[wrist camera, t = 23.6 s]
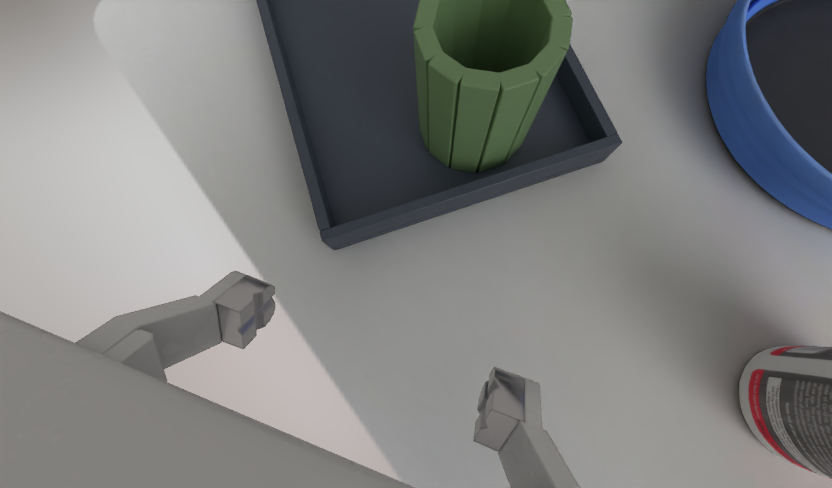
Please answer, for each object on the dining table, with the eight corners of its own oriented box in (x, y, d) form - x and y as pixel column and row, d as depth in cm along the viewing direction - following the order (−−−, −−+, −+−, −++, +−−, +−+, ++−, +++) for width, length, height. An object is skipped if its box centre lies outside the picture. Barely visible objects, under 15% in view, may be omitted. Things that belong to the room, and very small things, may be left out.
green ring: (540, 153, 20) (598, 60, 13) (440, 185, 19) (444, 109, 13) (501, 67, 21) (534, -57, 14) (407, 97, 21) (395, -14, 14)
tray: (603, 161, 20) (623, 142, 18) (333, 250, 19) (322, 242, 17) (478, -85, 25) (482, -122, 23) (258, -18, 24) (242, -50, 22)
